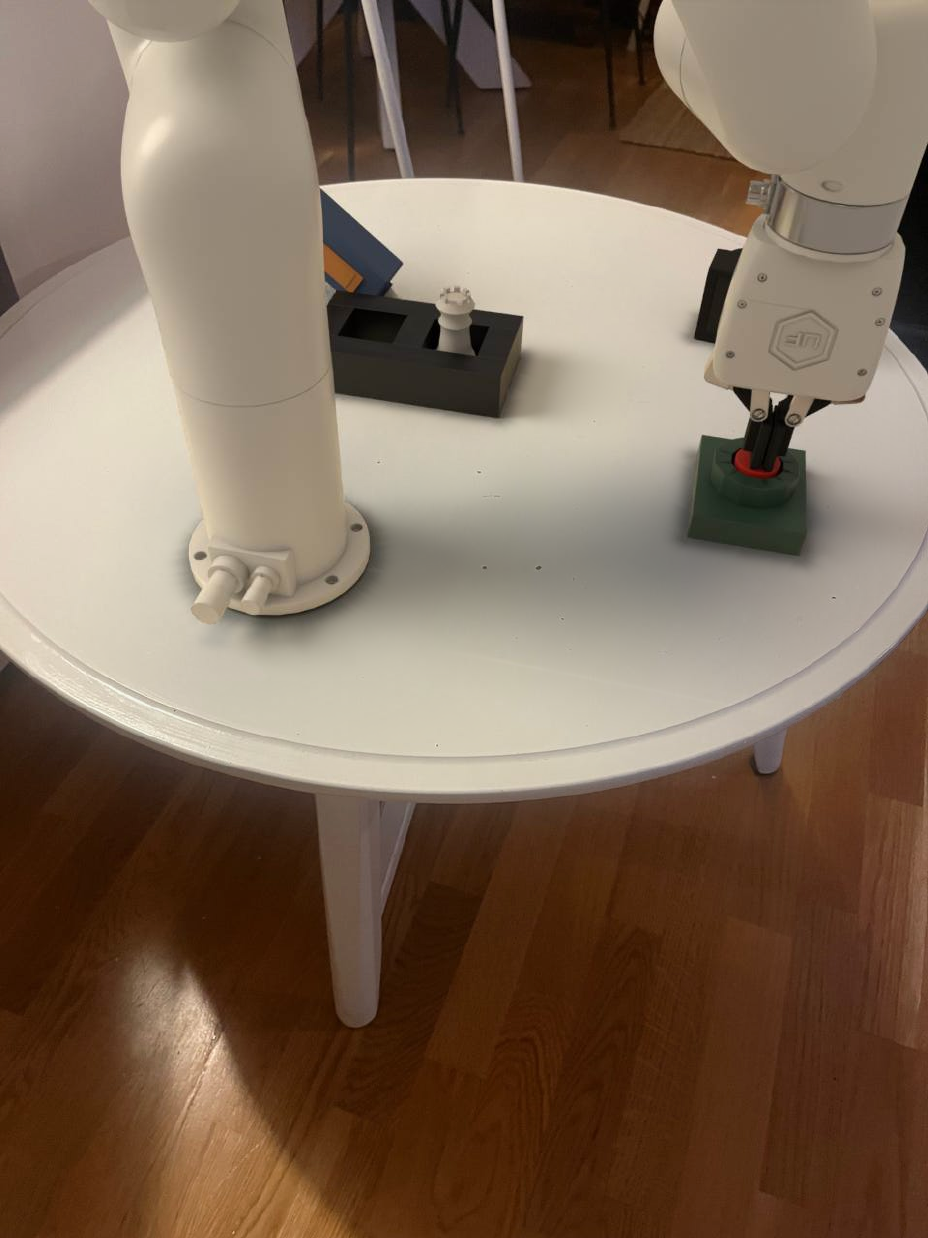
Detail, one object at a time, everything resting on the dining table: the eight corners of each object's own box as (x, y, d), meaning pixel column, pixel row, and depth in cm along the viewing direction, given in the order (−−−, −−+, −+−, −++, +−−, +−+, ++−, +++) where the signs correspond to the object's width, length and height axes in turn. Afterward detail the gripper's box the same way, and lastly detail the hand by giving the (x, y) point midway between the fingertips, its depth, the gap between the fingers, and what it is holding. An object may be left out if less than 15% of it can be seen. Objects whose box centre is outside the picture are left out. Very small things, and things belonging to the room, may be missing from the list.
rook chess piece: (421, 387, 84) (420, 301, 78) (438, 360, 87) (438, 276, 81) (471, 396, 83) (473, 311, 77) (486, 369, 86) (489, 284, 80)
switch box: (798, 556, 70) (814, 514, 67) (686, 538, 71) (697, 495, 68) (798, 472, 77) (812, 431, 74) (696, 456, 78) (706, 415, 75)
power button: (774, 495, 71) (780, 476, 70) (729, 488, 72) (734, 469, 70) (774, 468, 73) (780, 449, 72) (731, 462, 74) (736, 443, 72)
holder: (498, 418, 81) (500, 376, 78) (303, 387, 84) (298, 346, 81) (520, 356, 88) (523, 315, 85) (339, 329, 90) (336, 289, 87)
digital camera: (814, 333, 91) (837, 262, 86) (806, 362, 88) (829, 290, 83) (705, 311, 94) (720, 240, 89) (693, 338, 90) (708, 267, 85)
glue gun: (343, 403, 100) (423, 310, 89) (68, 201, 89) (123, 69, 79) (361, 369, 103) (440, 275, 93) (100, 171, 93) (156, 41, 83)
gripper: (703, 222, 56) (653, 474, 70) (974, 254, 54) (869, 508, 68) (711, 170, 61) (662, 415, 75) (959, 198, 59) (864, 444, 73)
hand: (761, 458), depth 71 cm, fingers closed
